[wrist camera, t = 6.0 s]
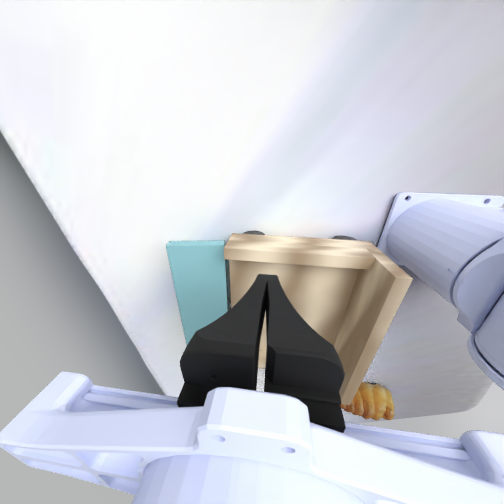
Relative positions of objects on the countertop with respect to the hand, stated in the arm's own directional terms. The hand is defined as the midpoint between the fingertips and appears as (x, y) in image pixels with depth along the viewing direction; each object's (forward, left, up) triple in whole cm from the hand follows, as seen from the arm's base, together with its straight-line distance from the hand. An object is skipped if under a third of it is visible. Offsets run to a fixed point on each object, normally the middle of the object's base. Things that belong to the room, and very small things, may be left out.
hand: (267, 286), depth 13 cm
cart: (-3, +9, -10) cm, 14 cm away
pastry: (-19, +30, -11) cm, 37 cm away
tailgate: (+5, +9, -7) cm, 12 cm away
